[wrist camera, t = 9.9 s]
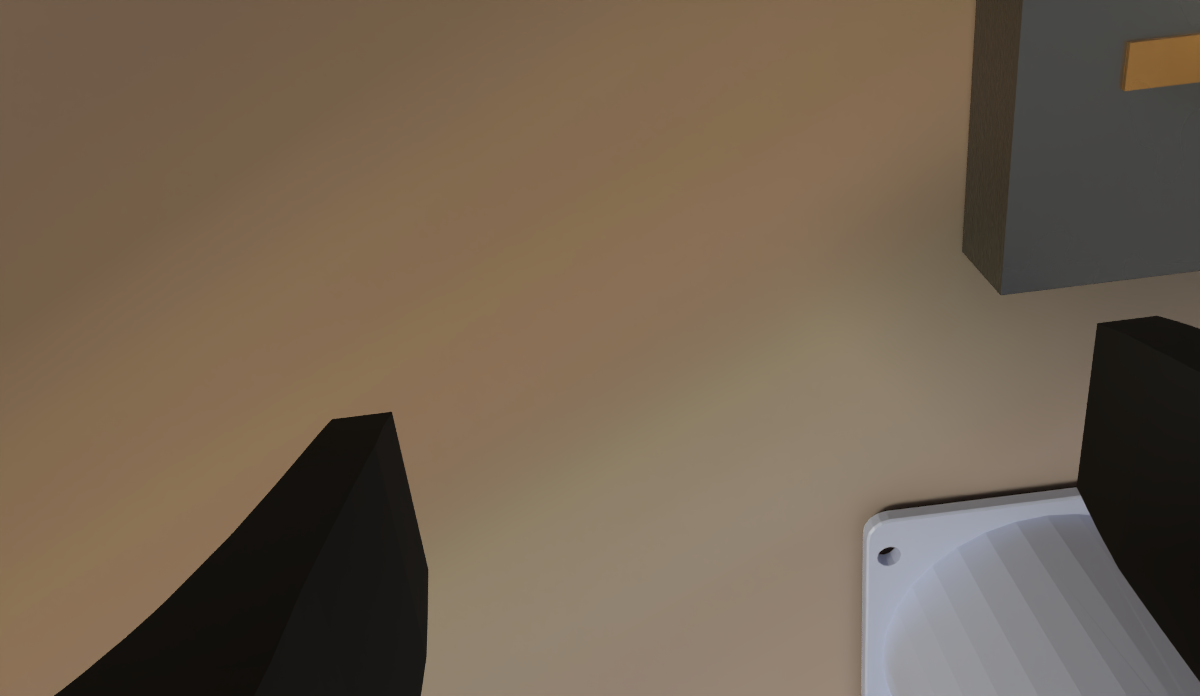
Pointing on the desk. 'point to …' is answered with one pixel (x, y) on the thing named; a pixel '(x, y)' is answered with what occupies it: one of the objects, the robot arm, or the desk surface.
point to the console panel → (1083, 142)
